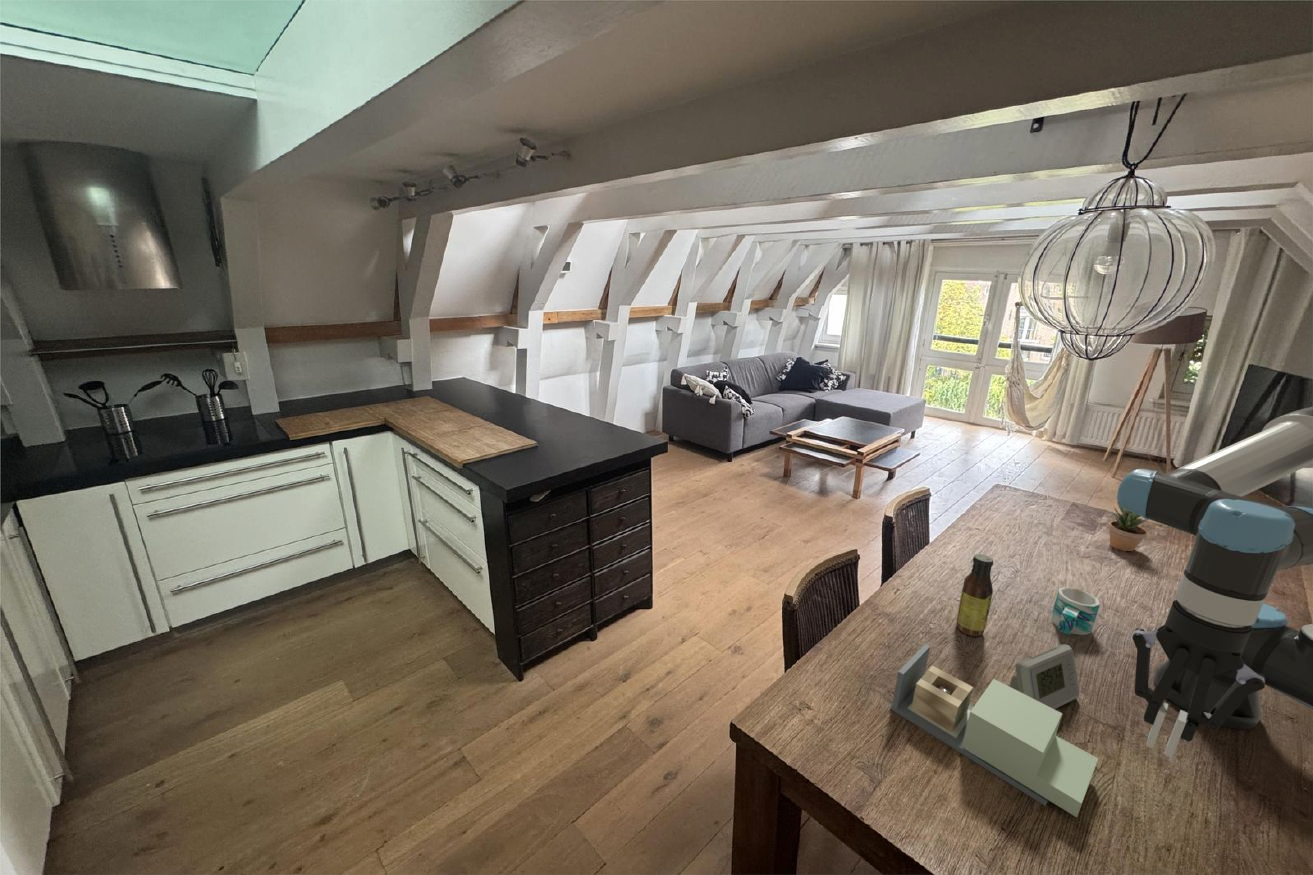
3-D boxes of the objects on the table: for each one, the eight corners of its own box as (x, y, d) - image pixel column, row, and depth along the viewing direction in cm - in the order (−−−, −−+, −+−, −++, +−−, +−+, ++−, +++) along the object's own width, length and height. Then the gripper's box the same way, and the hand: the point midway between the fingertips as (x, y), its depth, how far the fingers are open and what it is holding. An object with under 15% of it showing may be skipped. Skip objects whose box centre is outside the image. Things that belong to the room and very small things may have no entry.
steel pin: (946, 715, 101) (952, 690, 99) (942, 720, 100) (948, 695, 98) (936, 708, 102) (941, 684, 101) (932, 714, 101) (937, 689, 99)
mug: (1094, 626, 128) (1103, 597, 126) (1083, 647, 121) (1092, 617, 118) (1055, 610, 134) (1062, 583, 132) (1041, 629, 127) (1049, 600, 124)
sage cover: (1093, 771, 88) (1106, 735, 86) (1076, 817, 80) (1090, 779, 78) (985, 711, 100) (993, 678, 98) (961, 746, 93) (970, 711, 90)
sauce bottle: (988, 639, 123) (1005, 567, 117) (960, 635, 124) (975, 564, 118) (977, 622, 129) (993, 553, 123) (950, 619, 130) (965, 550, 124)
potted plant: (1149, 555, 162) (1173, 483, 155) (1119, 554, 162) (1142, 483, 155) (1122, 539, 172) (1144, 471, 165) (1094, 539, 172) (1114, 471, 165)
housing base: (1064, 762, 91) (1078, 721, 88) (1045, 806, 83) (1059, 762, 81) (917, 679, 110) (924, 643, 107) (890, 709, 102) (897, 670, 100)
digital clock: (1026, 723, 99) (1038, 679, 96) (989, 688, 108) (999, 647, 105) (1093, 711, 102) (1108, 667, 99) (1052, 678, 111) (1064, 637, 108)
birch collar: (967, 711, 100) (973, 687, 99) (952, 732, 96) (958, 707, 94) (927, 689, 106) (932, 665, 104) (911, 707, 101) (916, 683, 99)
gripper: (1294, 626, 66) (1232, 765, 73) (1144, 578, 76) (1102, 704, 83) (1296, 652, 61) (1229, 798, 68) (1136, 597, 72) (1092, 729, 79)
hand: (1159, 746), depth 76 cm, fingers closed
